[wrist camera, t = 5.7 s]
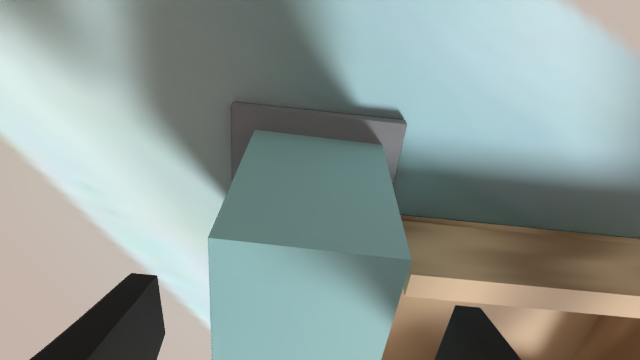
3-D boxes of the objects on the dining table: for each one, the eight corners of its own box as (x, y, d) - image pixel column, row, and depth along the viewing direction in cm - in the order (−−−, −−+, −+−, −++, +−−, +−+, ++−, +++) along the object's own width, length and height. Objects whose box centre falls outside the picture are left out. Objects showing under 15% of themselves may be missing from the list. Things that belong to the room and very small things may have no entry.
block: (382, 145, 14) (411, 260, 9) (361, 244, 16) (373, 382, 11) (254, 129, 14) (207, 237, 9) (250, 232, 16) (212, 366, 11)
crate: (663, 241, 16) (736, 305, 13) (563, 387, 21) (600, 457, 18) (396, 214, 16) (411, 274, 13) (359, 369, 21) (363, 437, 18)
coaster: (405, 120, 14) (406, 124, 14) (375, 251, 17) (376, 258, 17) (233, 101, 14) (231, 105, 13) (234, 238, 17) (232, 244, 16)
